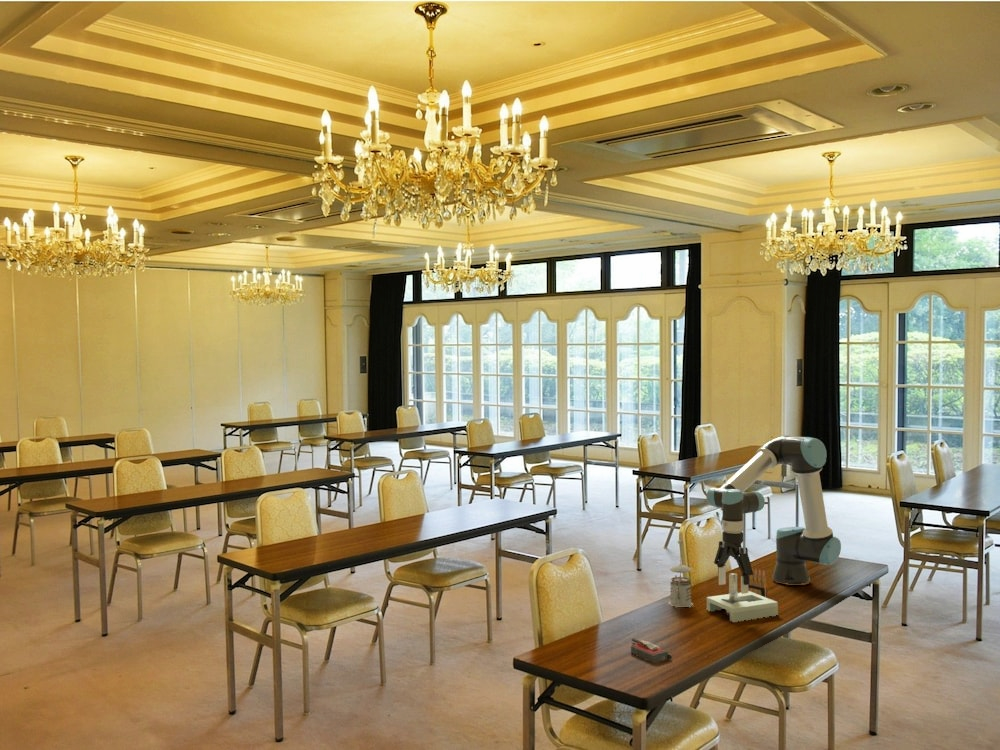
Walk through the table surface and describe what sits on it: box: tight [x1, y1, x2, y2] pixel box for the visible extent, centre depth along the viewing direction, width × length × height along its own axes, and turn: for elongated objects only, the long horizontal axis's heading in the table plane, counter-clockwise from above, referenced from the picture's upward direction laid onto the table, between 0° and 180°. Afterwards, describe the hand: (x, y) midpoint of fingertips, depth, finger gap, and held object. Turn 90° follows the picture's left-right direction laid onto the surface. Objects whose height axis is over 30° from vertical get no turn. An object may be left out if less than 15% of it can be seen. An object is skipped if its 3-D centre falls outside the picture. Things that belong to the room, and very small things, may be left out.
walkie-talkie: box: [630, 638, 673, 664], centre depth 265 cm, size 9×4×20 cm
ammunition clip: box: [748, 567, 768, 598], centre depth 325 cm, size 11×2×12 cm, turn 42°
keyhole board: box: [706, 591, 779, 623], centre depth 306 cm, size 20×16×5 cm
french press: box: [667, 539, 694, 608], centre depth 317 cm, size 10×12×25 cm
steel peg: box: [725, 572, 738, 616], centre depth 304 cm, size 6×6×15 cm
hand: (733, 588), depth 304 cm, fingers open, 12 cm apart
